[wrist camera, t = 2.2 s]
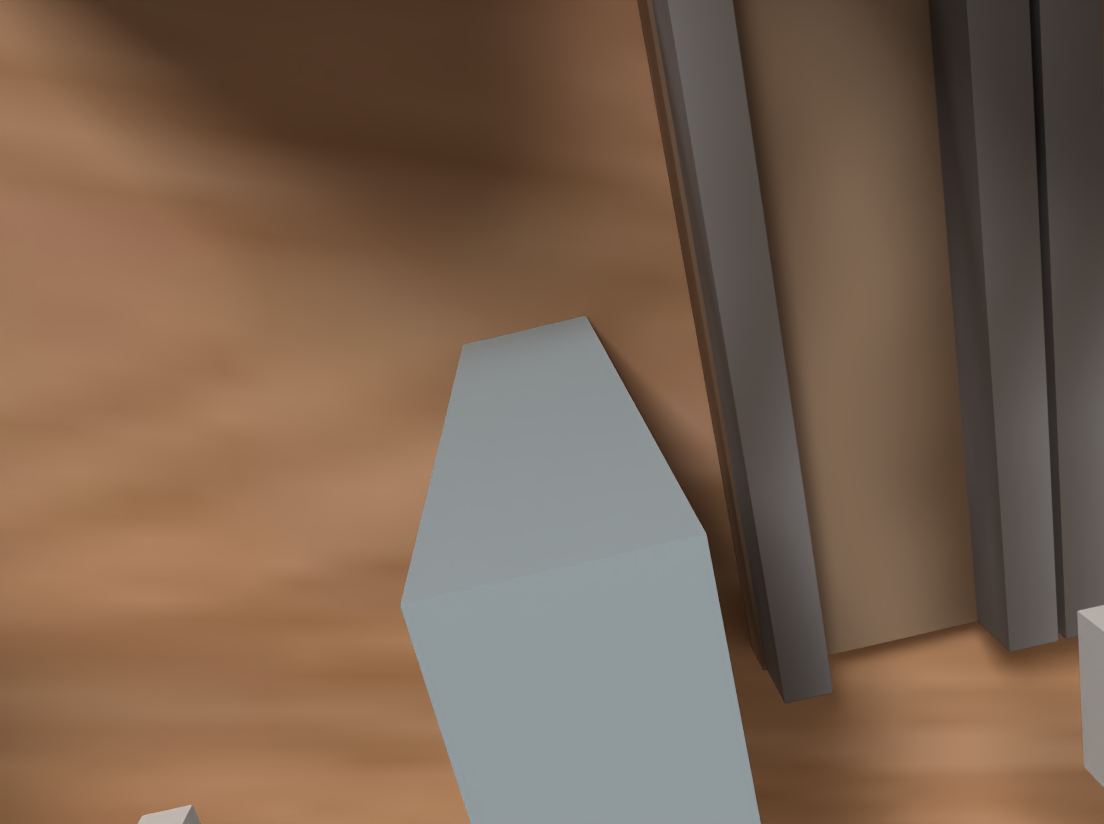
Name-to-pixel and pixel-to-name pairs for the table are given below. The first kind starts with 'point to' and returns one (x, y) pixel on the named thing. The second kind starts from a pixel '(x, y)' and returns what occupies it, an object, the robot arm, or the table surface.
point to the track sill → (895, 309)
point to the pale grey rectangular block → (570, 602)
